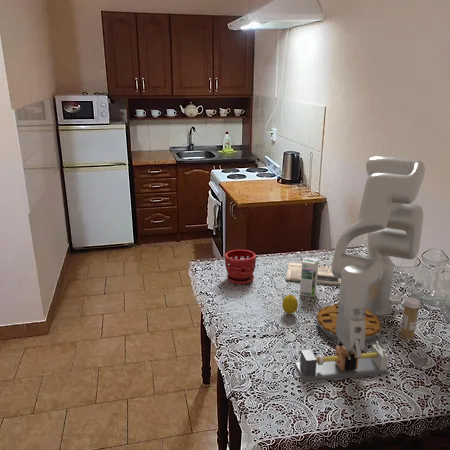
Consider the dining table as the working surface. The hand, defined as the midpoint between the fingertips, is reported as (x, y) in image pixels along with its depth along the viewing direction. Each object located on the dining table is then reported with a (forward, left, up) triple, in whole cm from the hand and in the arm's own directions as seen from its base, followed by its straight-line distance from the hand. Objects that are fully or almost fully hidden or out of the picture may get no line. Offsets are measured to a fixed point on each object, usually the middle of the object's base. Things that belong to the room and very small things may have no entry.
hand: (345, 362), depth 126 cm
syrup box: (-5, -48, -2) cm, 48 cm away
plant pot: (+20, -64, -3) cm, 67 cm away
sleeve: (0, 0, -1) cm, 1 cm away
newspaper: (-20, -63, -3) cm, 66 cm away
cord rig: (+1, 0, -2) cm, 2 cm away
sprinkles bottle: (-28, -14, -2) cm, 31 cm away
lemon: (+7, -33, -2) cm, 34 cm away
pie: (-10, -21, -3) cm, 23 cm away
